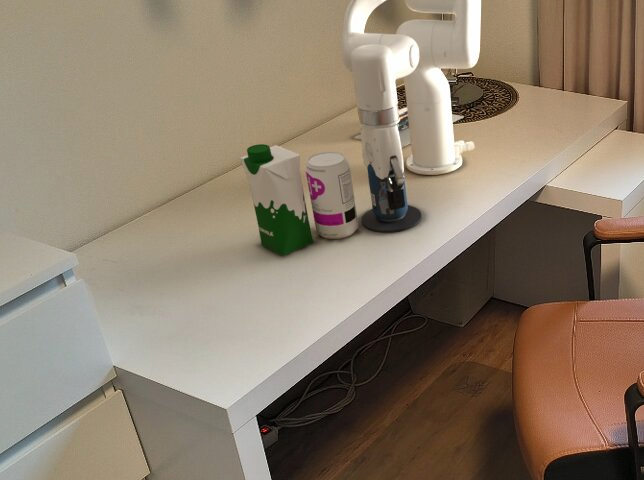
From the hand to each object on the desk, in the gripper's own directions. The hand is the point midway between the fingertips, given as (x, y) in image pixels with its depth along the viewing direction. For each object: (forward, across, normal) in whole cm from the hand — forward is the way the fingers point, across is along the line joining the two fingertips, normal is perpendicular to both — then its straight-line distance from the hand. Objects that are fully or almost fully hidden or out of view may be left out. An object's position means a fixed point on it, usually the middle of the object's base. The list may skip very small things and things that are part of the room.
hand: (389, 200), depth 180 cm
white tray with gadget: (+4, -46, +24) cm, 52 cm away
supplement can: (+4, -1, -11) cm, 12 cm away
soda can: (+3, 0, 0) cm, 3 cm away
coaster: (+4, 0, 0) cm, 4 cm away
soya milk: (+4, -1, -21) cm, 21 cm away
